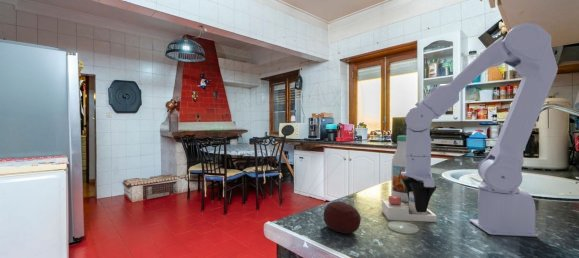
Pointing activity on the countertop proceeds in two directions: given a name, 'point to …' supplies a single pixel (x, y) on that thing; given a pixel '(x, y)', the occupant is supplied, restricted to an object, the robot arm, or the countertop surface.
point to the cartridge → (413, 205)
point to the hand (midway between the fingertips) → (417, 208)
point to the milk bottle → (399, 170)
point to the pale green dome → (403, 227)
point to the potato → (341, 217)
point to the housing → (405, 213)
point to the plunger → (394, 200)
